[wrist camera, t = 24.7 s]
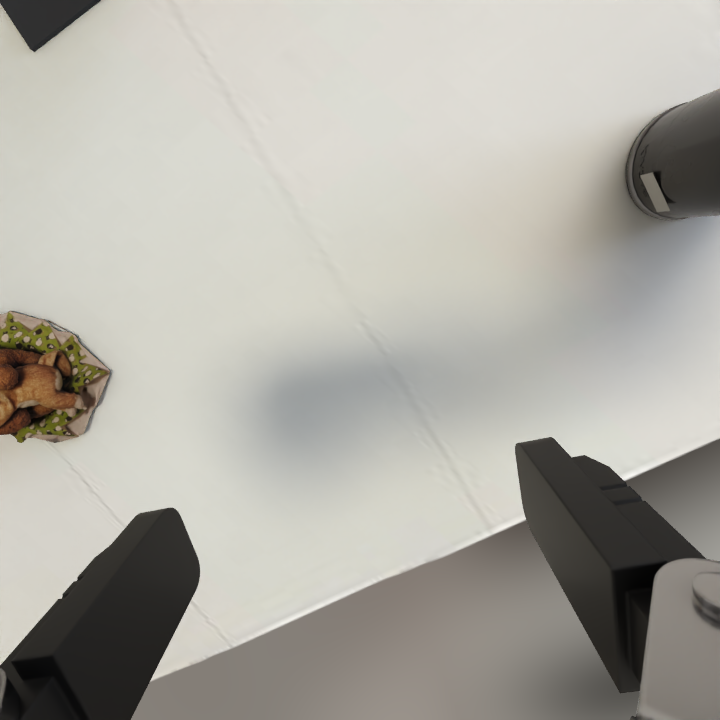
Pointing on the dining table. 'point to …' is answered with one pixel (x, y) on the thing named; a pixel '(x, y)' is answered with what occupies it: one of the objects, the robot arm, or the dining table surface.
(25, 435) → the bear figurine
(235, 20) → the dining table surface
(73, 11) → the front mat
